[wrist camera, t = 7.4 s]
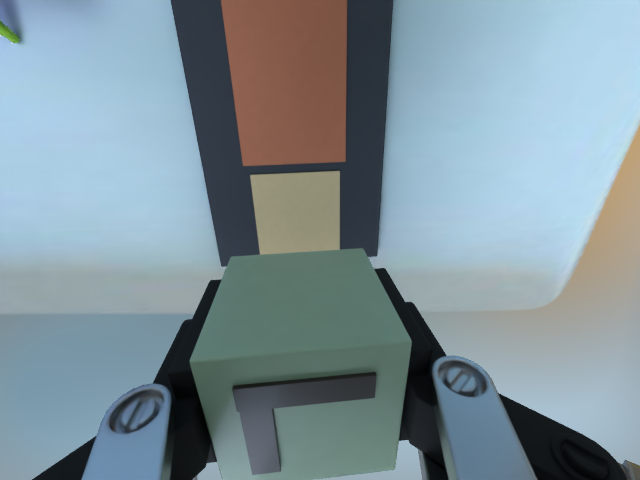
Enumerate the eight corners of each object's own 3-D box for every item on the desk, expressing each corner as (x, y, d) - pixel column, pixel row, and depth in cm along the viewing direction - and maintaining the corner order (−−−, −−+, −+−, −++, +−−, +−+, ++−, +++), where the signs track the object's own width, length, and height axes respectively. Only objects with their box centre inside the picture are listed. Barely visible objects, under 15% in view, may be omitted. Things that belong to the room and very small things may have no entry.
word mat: (115, -310, 11) (106, -332, 10) (407, -289, 12) (413, -309, 11) (222, 263, 21) (220, 267, 20) (375, 253, 22) (377, 257, 21)
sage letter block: (230, 255, 10) (186, 365, 6) (363, 247, 10) (414, 344, 6) (247, 357, 12) (223, 496, 7) (359, 347, 12) (397, 474, 8)
